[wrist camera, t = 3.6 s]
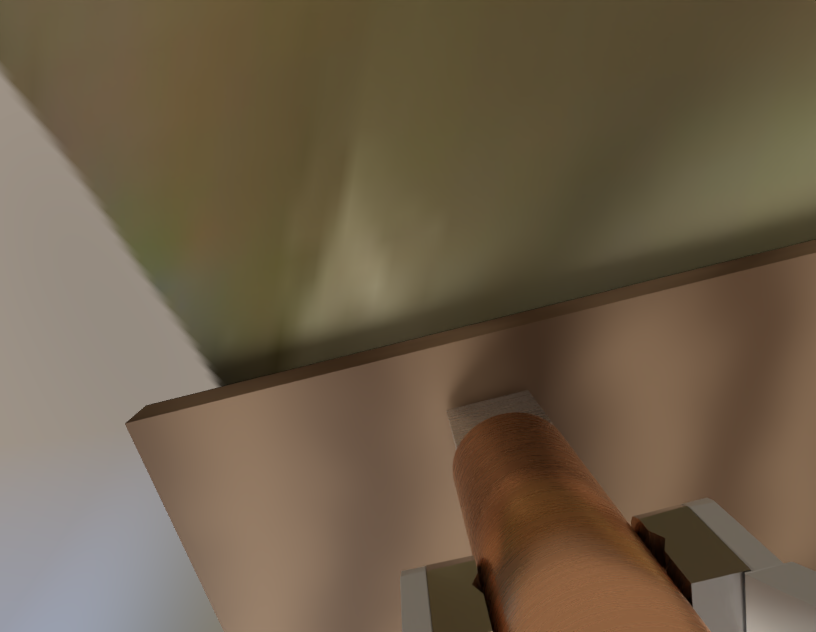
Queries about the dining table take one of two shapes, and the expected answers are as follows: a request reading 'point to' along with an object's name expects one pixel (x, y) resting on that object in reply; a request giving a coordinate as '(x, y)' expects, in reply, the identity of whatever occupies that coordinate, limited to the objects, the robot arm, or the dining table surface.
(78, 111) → the dining table surface
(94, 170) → the dining table surface
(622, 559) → the lever
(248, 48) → the dining table surface
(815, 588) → the robot arm
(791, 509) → the walnut board
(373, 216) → the dining table surface
